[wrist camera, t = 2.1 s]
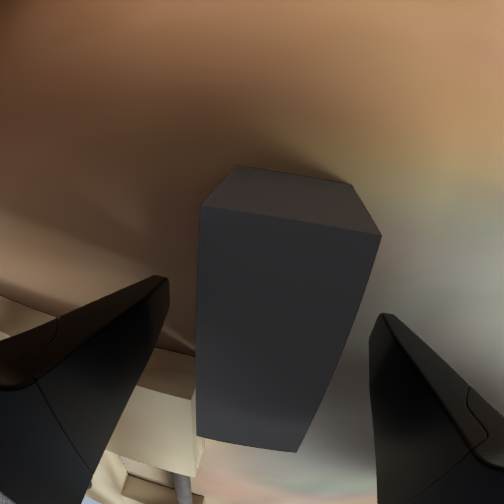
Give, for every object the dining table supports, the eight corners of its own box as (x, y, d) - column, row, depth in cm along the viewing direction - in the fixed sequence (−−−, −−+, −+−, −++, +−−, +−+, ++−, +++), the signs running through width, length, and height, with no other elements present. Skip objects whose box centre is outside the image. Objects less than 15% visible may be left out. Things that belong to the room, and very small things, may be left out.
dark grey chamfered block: (350, 183, 8) (382, 235, 5) (300, 371, 11) (296, 452, 8) (237, 164, 8) (200, 205, 5) (219, 358, 11) (196, 435, 8)
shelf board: (205, 359, 11) (175, 444, 8) (204, 517, 22) (196, 550, 18) (-32, 281, 12) (-76, 318, 9) (71, 471, 23) (57, 498, 19)
